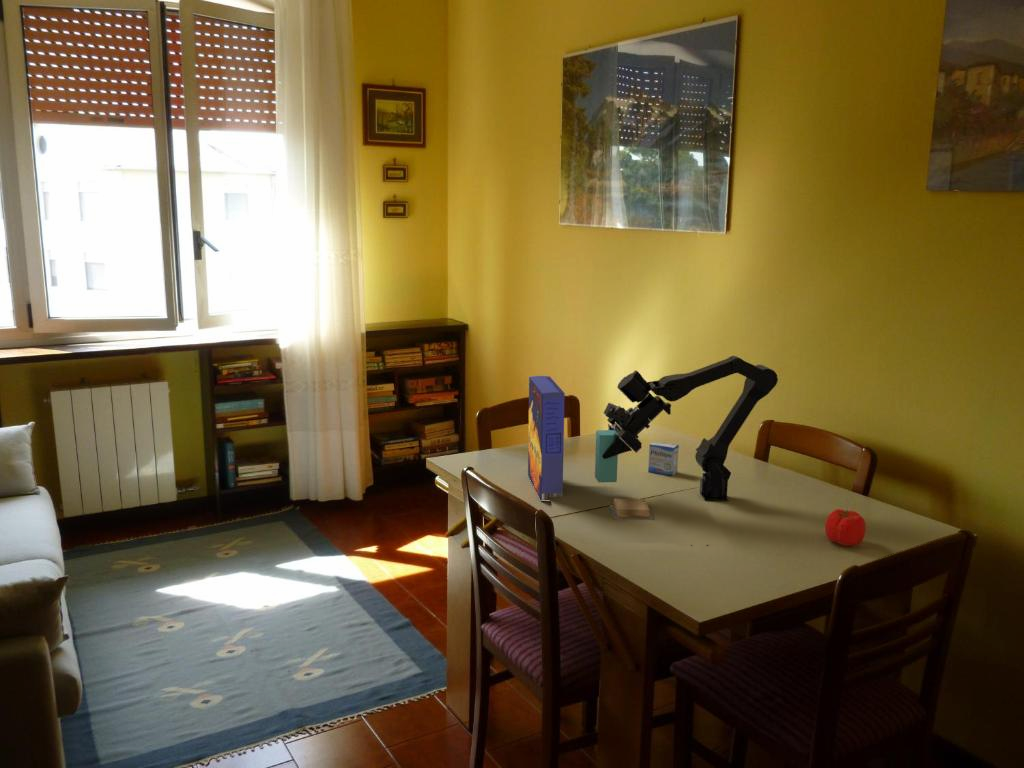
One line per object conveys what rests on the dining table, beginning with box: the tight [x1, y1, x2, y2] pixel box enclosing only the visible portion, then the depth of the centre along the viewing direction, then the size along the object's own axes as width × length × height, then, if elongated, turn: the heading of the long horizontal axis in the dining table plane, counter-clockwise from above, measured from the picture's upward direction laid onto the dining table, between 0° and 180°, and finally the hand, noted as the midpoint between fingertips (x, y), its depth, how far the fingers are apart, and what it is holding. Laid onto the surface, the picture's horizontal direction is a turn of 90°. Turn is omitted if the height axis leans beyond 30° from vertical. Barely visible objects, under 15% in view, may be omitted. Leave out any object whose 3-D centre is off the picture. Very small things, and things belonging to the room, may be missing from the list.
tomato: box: [824, 508, 867, 547], centre depth 200 cm, size 9×9×8 cm
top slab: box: [613, 498, 651, 517], centre depth 216 cm, size 8×8×2 cm
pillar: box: [594, 429, 619, 483], centre depth 227 cm, size 5×5×13 cm
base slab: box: [608, 504, 655, 520], centre depth 216 cm, size 10×10×2 cm
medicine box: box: [647, 441, 680, 477], centre depth 252 cm, size 8×4×9 cm, turn 62°
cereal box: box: [527, 375, 566, 501], centre depth 235 cm, size 22×6×30 cm, turn 8°
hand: (601, 454), depth 226 cm, fingers closed on pillar, 5 cm apart
